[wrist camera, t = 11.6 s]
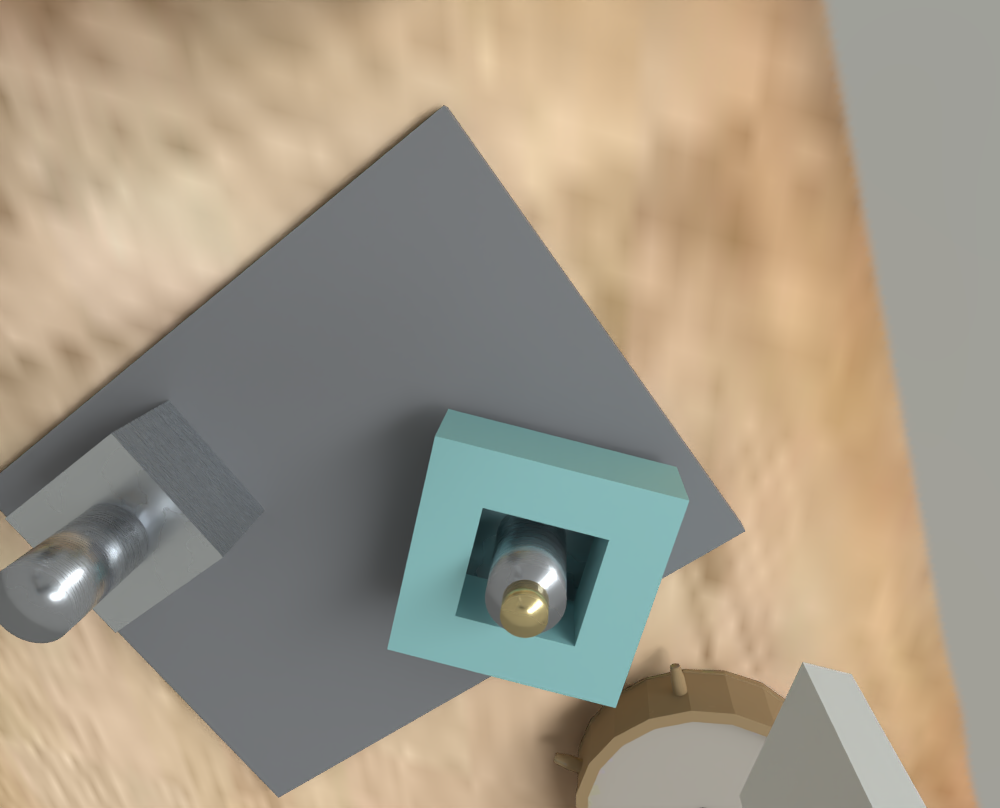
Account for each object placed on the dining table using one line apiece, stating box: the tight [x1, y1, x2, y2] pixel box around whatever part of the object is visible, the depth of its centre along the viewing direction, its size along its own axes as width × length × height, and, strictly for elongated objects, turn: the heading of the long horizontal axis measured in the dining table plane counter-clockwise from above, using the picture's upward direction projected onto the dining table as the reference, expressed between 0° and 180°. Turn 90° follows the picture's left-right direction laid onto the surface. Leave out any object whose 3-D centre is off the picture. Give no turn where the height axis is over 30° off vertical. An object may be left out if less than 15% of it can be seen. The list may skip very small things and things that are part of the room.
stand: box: [0, 400, 265, 643], centre depth 27 cm, size 6×6×8 cm
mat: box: [0, 105, 745, 798], centre depth 31 cm, size 20×26×1 cm
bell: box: [466, 508, 594, 638], centre depth 27 cm, size 8×8×6 cm
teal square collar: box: [387, 409, 689, 708], centre depth 28 cm, size 9×9×3 cm
